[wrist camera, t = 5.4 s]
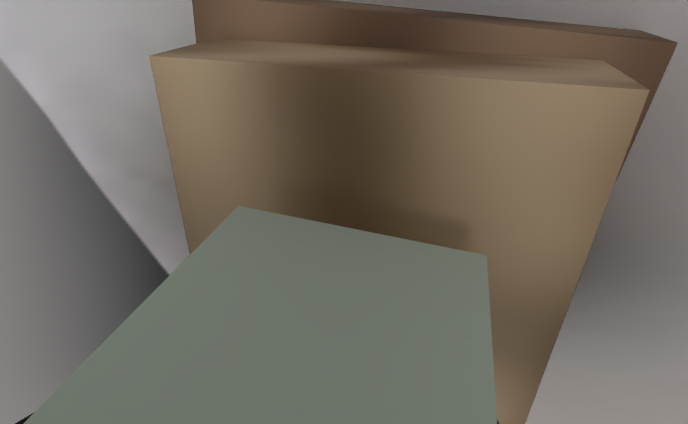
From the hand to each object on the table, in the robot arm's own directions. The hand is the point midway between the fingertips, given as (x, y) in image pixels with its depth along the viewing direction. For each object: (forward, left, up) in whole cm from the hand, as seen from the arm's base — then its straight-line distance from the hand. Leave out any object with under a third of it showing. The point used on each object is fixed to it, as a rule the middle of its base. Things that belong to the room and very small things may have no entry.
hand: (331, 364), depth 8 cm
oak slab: (0, 0, -6) cm, 6 cm away
